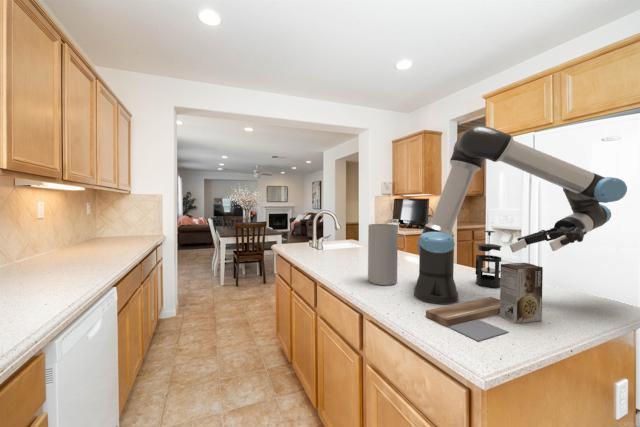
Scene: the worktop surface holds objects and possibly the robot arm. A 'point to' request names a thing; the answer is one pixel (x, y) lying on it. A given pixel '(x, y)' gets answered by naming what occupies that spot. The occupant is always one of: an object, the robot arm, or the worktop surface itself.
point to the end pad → (478, 330)
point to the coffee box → (521, 292)
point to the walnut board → (465, 311)
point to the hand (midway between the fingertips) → (530, 247)
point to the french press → (488, 280)
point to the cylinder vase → (382, 253)
